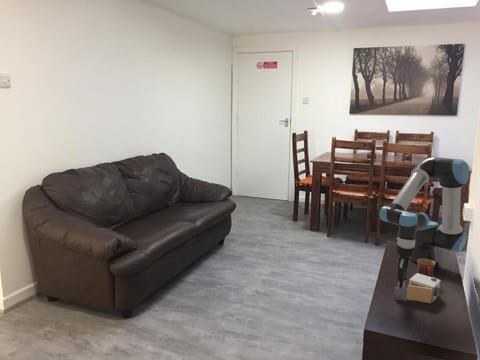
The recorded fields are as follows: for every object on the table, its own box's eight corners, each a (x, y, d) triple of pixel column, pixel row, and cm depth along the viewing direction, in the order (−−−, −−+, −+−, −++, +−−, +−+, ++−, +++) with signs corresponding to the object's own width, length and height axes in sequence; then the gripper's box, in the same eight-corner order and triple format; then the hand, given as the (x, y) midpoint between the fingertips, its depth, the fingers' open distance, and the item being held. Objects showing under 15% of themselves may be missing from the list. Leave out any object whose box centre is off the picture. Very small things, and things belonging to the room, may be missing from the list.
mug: (413, 275, 213) (415, 257, 211) (430, 277, 211) (433, 259, 209) (418, 285, 201) (420, 266, 199) (437, 287, 200) (439, 268, 197)
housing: (415, 287, 199) (417, 271, 197) (441, 296, 191) (443, 279, 189) (407, 294, 192) (409, 277, 190) (434, 303, 183) (436, 286, 182)
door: (394, 296, 189) (395, 281, 188) (432, 302, 184) (434, 287, 183) (394, 297, 188) (396, 283, 186) (432, 304, 183) (434, 289, 181)
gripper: (400, 240, 191) (395, 285, 196) (393, 248, 180) (388, 295, 185) (416, 243, 187) (411, 289, 192) (411, 252, 176) (405, 300, 181)
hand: (400, 292), depth 188 cm, fingers closed
